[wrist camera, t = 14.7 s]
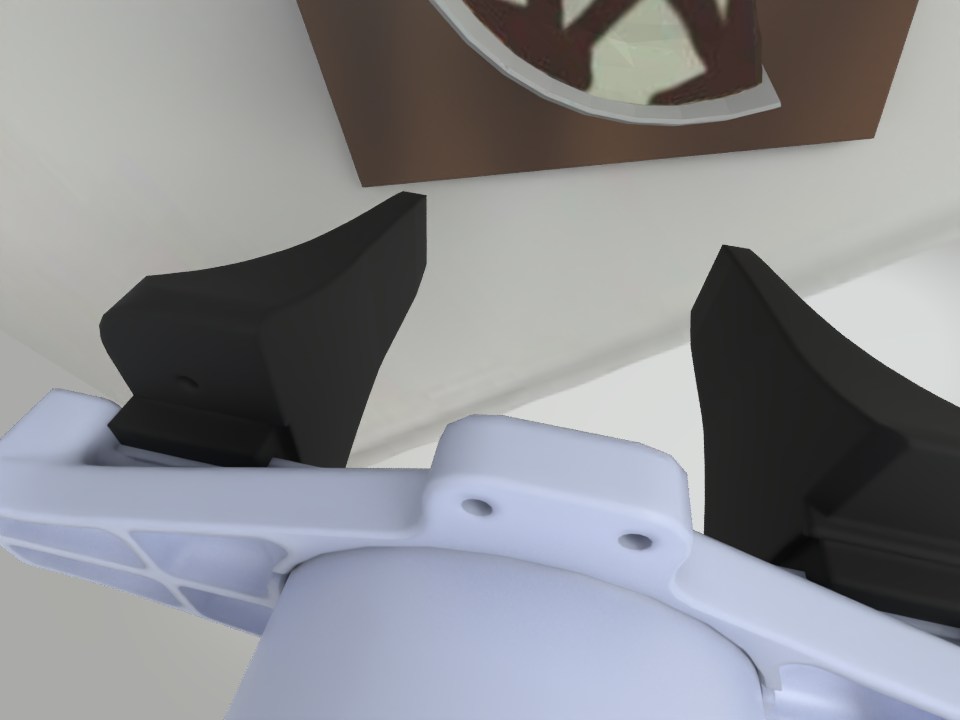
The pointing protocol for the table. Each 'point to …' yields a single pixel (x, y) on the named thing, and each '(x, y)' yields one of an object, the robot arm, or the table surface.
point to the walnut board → (566, 133)
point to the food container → (625, 55)
